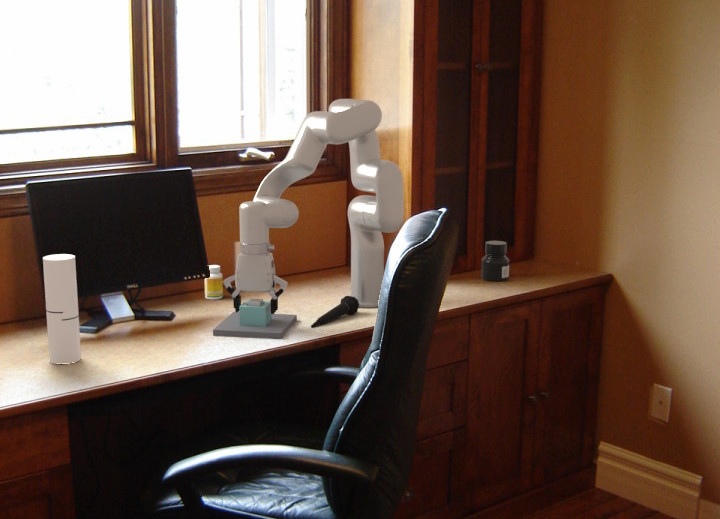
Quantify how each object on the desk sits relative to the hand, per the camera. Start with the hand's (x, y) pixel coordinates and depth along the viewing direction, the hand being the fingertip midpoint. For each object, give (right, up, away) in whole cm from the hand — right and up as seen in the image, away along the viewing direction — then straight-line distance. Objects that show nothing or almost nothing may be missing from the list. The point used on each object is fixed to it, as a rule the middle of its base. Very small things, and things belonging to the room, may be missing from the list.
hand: (255, 311), depth 256 cm
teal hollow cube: (0, -3, +1) cm, 3 cm away
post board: (0, -4, +1) cm, 4 cm away
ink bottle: (+72, +7, +58) cm, 92 cm away
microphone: (+20, -3, +10) cm, 23 cm away
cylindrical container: (-42, -10, -27) cm, 51 cm away
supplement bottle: (-16, +2, +32) cm, 36 cm away
